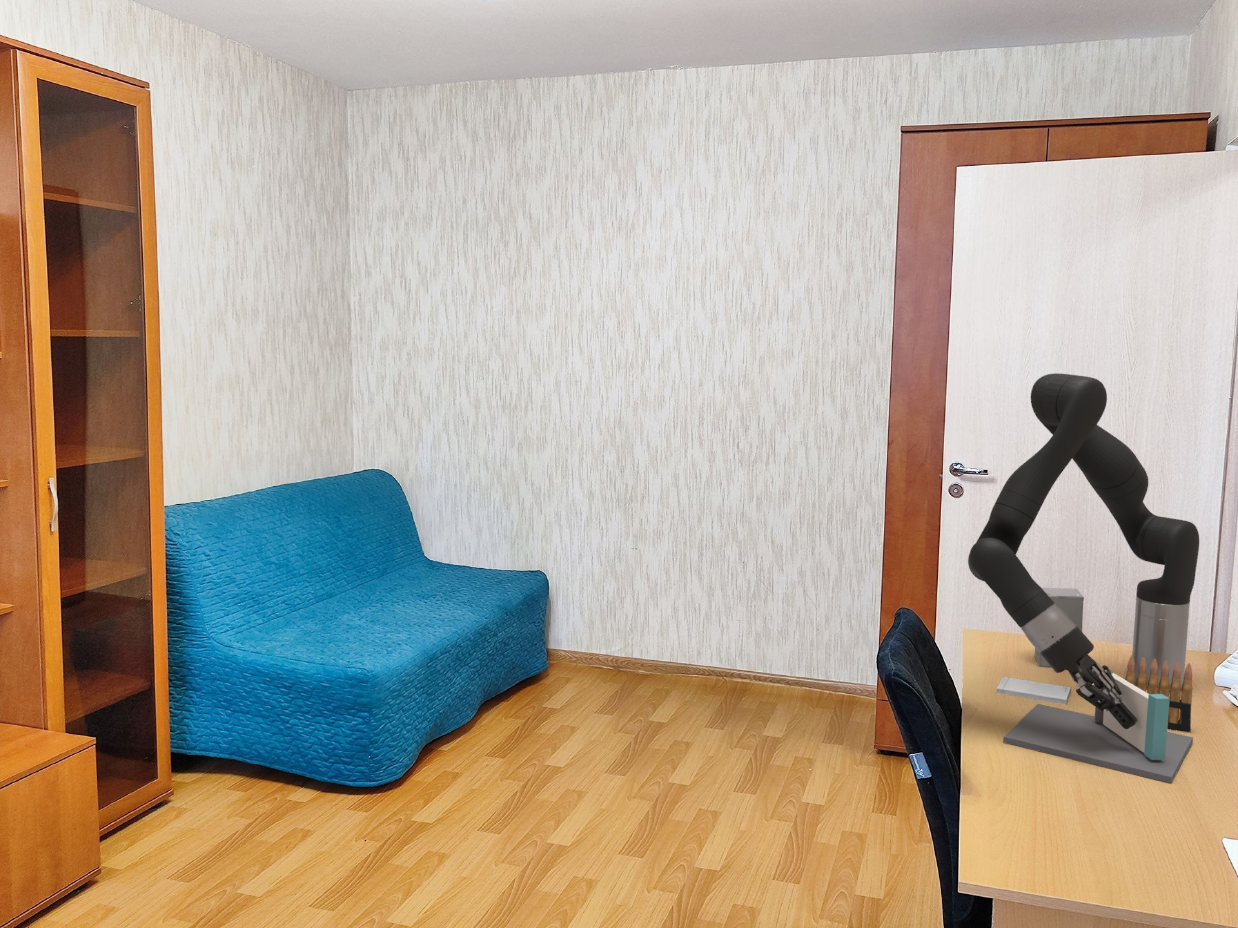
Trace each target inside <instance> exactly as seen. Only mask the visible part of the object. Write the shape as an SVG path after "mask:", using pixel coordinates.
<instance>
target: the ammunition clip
mask: <svg viewBox="0 0 1238 928" xmlns="http://www.w3.org/2000/svg"><path fill="white" fill-rule="evenodd" d="M1125 674H1126V675H1125V678H1124V680H1126V681H1128V682H1129V683H1131V684H1133V685H1134V686H1136V687H1138V688H1140V689H1141V690H1143V691H1145V692H1146V693H1148V694H1163V695H1164V696H1166V697H1168V698H1170V701H1169V714H1168V727H1167V730H1170V729H1171V730H1170V731H1176V730H1177V731H1179V732H1182V733H1183V732H1184V733H1191V729H1192V728H1191V725H1192V724H1191V723H1192V721H1191V719H1192V717H1191V715H1192V702H1193V689H1194V688H1193V670H1192V665H1191V663H1189V662H1188V663H1187V664H1186V666H1185V670H1184V680H1183V685H1182V690H1181V683H1180V679H1181V678H1180V675H1181V672H1180V665H1179V662H1176V664H1175V666H1174V670H1173V677H1172V682H1171V685H1170V684H1169V665H1168V662H1167V660H1165V662H1164V664H1163V667H1162V671H1161V679H1160V682H1159V691H1158V666H1157V661H1156V659H1154V660H1153V661H1152V664H1151V668H1150V675H1149V680H1148V687H1147V680H1146V662H1145V658H1144V657H1142V659H1141V661H1140V665H1139V671H1138V677H1137V681H1136V685H1135V662H1134V658H1133V656H1132V655H1130V657H1129V659H1128V662H1127V669H1126V673H1125ZM1146 687H1147V688H1146ZM1169 687H1170V692H1169Z"/></svg>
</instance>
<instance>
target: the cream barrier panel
mask: <svg viewBox="0 0 1238 928" xmlns="http://www.w3.org/2000/svg"><path fill="white" fill-rule="evenodd" d="M1109 670H1110V672H1111V674H1112V676H1113V677H1114V679H1115V681H1116V683H1117V685H1118V687H1119V689H1120V691H1121V693H1122V695H1120V696H1121V698H1122V701H1121V702H1123V703H1124V705H1125V706H1126V707H1127V708H1128V709H1129V710H1130V711H1131V713H1132V714H1133V715H1134V716H1135V717H1136V718H1137V722H1136V723H1135V725H1133V726H1132V727H1130V728H1129V729H1124V728H1123V727H1122V726H1121V725H1120V723H1119V722H1118V721H1117V720H1116V719H1115V718H1114V716H1113V715H1112V714H1111V713H1110V712H1109V711H1106V710H1105V709H1104V710H1103V711H1101V710H1099V709H1098V708H1097V707H1095V706H1094V707H1095V710H1094V716H1095V719H1094V720H1095V721H1097V722H1100V723H1103V724H1104V725H1105V726H1106V727H1108V728H1109V729H1111V730H1112V731H1114V732H1115V733H1116V734H1118V735H1119V736H1121V737H1122V738H1123V739H1125V740H1126V741H1128V742H1129V743H1131V744H1132V745H1133V746H1135V747H1136V748H1138V749H1139V750H1141V751H1142V752H1143V753H1144V755H1145V756H1147V757H1148V758H1149V759H1151V760H1165V753H1166V740H1167V732H1168V729H1167V727H1168V714H1169V701H1170V698H1168V697H1166V696H1164V695H1163V694H1148V693H1147V691H1146V692H1145V691H1143V690H1141V689H1140V688H1138V687H1136V685H1135V686H1134V685H1133V684H1131V683H1129V682H1128V681H1126V680H1125V678H1123V677H1121V676H1119V675H1118V674H1116V673H1114V671H1113V670H1111V669H1110V668H1109ZM1100 690H1101V689H1100Z"/></svg>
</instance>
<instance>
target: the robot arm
mask: <svg viewBox="0 0 1238 928" xmlns="http://www.w3.org/2000/svg"><path fill="white" fill-rule="evenodd" d="M1107 403H1108V393H1107V389H1106V387H1105V385H1104V384H1103V382H1102V381H1100V380H1099V379H1097V378H1094V377H1091V376H1085V375H1076V374H1068V373H1058V372H1057V373H1056V372H1055V373H1048V374H1044V375H1042V376H1040V377H1039V378H1038V379H1036V381H1035V382H1034V384H1033V386H1032V388H1031V392H1030V405H1031V409H1032V411H1033V413H1034V415H1035V417H1036V418H1037V420H1038V421H1039V422H1040V423H1041V424H1042V426H1043V427H1045V428H1046V430H1047V431H1049V433H1050V434H1051V435H1052V436H1051V437H1050V438H1049V440H1047V442H1046V443H1045V444H1044V445H1043V446H1042V447H1041V448H1040V449H1039V450H1038V451H1037V452H1036V453H1034V454H1033V455H1032V456H1031V457H1030V458H1028V459H1027V460H1026V461H1025V462H1024V463H1022V464H1021V465H1020V466H1018V468H1017V469H1015V470H1014V472H1013V473H1011V475H1010V476H1009V477H1008V478H1007V480H1006V482H1005V483H1004V485H1003V486H1002V488H1001V490H1000V493H999V494H998V497H997V498H996V500H995V501H994V504H993V507H992V509H991V510H990V511H991V512H990V515H989V518H988V521H987V522H986V524H985V526H984V527H983V530H982V531H981V533H980V535H979V537H978V538H977V540H976V542H975V543H974V544H973V545H972V547H971V549H970V551H969V554H968V559H967V565H968V568H969V571H970V572H971V574H972V576H974V577H975V578H976V579H977V580H979V581H982V582H984V583H985V584H986V586H988V588H990V589H991V591H992V592H993V593H994V594H995V595H996V596H997V597H998V599H999V600H1000V602H1001V605H1002V607H1003V608H1004V610H1005V611H1006V612H1007V614H1008V615H1009V616H1010V617H1011V619H1012V620H1013V621H1014V622H1015V623H1016V624H1017V626H1018V627H1019V628H1020V630H1021V631H1022V632H1023V633H1024V635H1025V637H1026V638H1027V639H1028V641H1029V642H1030V644H1032V646H1033V647H1034V649H1035V648H1036V649H1037V650H1038V652H1039V653H1040V654H1041V655H1042V656H1043V658H1044V659H1045V660H1046V661H1047V662H1048V663H1049V665H1050V666H1051V667H1050V668H1052V669H1053V671H1054V672H1056V673H1057V674H1060V673H1062V672H1064V671H1067V672H1068V674H1069V675H1070V677H1071V678H1072V680H1073V683H1075V684H1076V685H1077V687H1078V688H1077V689H1076V690H1075V692H1076V695H1078V696H1079V697H1081V699H1083V700H1085V701H1087V702H1088V703H1090V705H1093V706H1094V707H1097V708H1098V709H1099V710H1101V711H1103V710H1104V709H1105V710H1106V711H1109V712H1110V713H1111V714H1112V715H1113V716H1114V718H1115V719H1116V720H1117V721H1118V722H1119V723H1120V725H1121V726H1122V727H1123V728H1124V729H1129V728H1130V727H1132V726H1133V725H1135V723H1136V722H1137V718H1136V717H1135V716H1134V715H1133V714H1132V713H1131V711H1130V710H1129V709H1128V708H1127V707H1126V706H1125V705H1124V703H1123V702H1121V701H1122V698H1121V696H1120V695H1122V693H1121V691H1120V689H1119V687H1118V685H1117V683H1116V681H1115V679H1114V677H1113V676H1112V674H1111V672H1110V670H1111V669H1110V668H1109V667H1108V666H1107V665H1105V664H1103V665H1101V664H1100V663H1099V662H1097V661H1096V660H1095V659H1094V658H1093V657H1091V656H1090V655H1089V654H1090V653H1092V651H1093V650H1094V648H1095V645H1094V644H1093V643H1092V641H1091V640H1089V638H1088V637H1087V636H1086V634H1084V632H1083V630H1082V631H1081V630H1080V629H1079V628H1078V627H1077V626H1076V624H1075V623H1074V622H1073V621H1072V620H1071V619H1070V618H1069V616H1068V615H1067V614H1066V613H1065V612H1064V611H1063V610H1061V609H1060V608H1059V607H1058V606H1057V605H1056V604H1054V602H1053V601H1052V599H1051V598H1050V597H1049V596H1048V595H1047V594H1046V592H1045V591H1044V590H1043V589H1042V588H1043V587H1041V586H1040V585H1039V584H1038V583H1037V581H1035V580H1034V578H1032V576H1031V575H1030V573H1029V571H1028V569H1027V568H1026V567H1025V565H1024V564H1023V563H1022V561H1021V560H1020V559H1019V558H1018V556H1017V553H1018V551H1019V548H1020V546H1021V544H1022V541H1023V540H1024V537H1025V536H1026V535H1027V534H1028V532H1029V530H1030V529H1031V528H1032V526H1033V524H1034V522H1035V520H1036V518H1037V516H1038V514H1039V512H1040V510H1041V508H1042V506H1043V504H1044V502H1045V500H1046V499H1047V496H1048V495H1049V493H1050V491H1051V490H1052V488H1053V487H1054V485H1055V483H1056V482H1057V480H1058V478H1059V477H1060V475H1061V474H1062V473H1063V471H1064V470H1065V469H1066V467H1067V466H1068V465H1069V463H1070V462H1071V461H1073V462H1074V463H1075V464H1076V466H1077V467H1078V469H1079V470H1080V471H1081V472H1082V473H1083V475H1084V477H1085V479H1086V480H1087V482H1088V483H1089V485H1090V486H1091V488H1092V489H1093V490H1094V492H1095V493H1096V494H1097V496H1098V497H1099V498H1100V499H1101V500H1102V502H1103V503H1104V504H1105V506H1106V508H1107V510H1108V511H1109V513H1110V514H1111V516H1112V517H1113V518H1114V520H1115V521H1116V523H1117V525H1118V527H1119V529H1120V531H1121V533H1122V535H1123V537H1124V538H1125V541H1126V543H1127V545H1128V546H1129V548H1130V550H1131V551H1132V553H1133V554H1134V555H1135V557H1136V558H1138V559H1140V560H1141V561H1144V562H1148V563H1151V564H1156V565H1160V566H1161V565H1162V566H1164V567H1163V570H1162V571H1163V572H1162V575H1161V576H1160V577H1158V578H1152V579H1150V578H1149V579H1144V580H1141V581H1139V582H1138V583H1137V586H1136V595H1135V609H1134V610H1135V612H1134V624H1133V626H1134V627H1133V636H1132V637H1133V639H1132V653H1131V656H1133V658H1134V662H1135V686H1136V681H1137V677H1138V671H1139V665H1140V661H1141V659H1142V657H1144V658H1145V662H1146V680H1147V687H1148V680H1149V675H1150V668H1151V664H1152V661H1153V660H1154V659H1156V661H1157V666H1158V691H1159V682H1160V679H1161V671H1162V667H1163V664H1164V662H1165V660H1167V662H1168V665H1169V684H1170V685H1171V682H1172V677H1173V670H1174V666H1175V664H1176V662H1179V665H1180V672H1181V675H1180V678H1181V679H1180V683H1181V691H1182V685H1183V680H1184V674H1185V669H1186V657H1187V643H1188V629H1189V617H1190V616H1189V615H1190V603H1191V595H1192V592H1193V589H1194V586H1195V581H1196V573H1197V572H1196V571H1197V563H1198V557H1199V550H1200V533H1199V531H1198V528H1197V526H1196V525H1195V524H1194V523H1193V522H1191V521H1188V520H1183V519H1179V518H1171V517H1166V516H1165V517H1164V516H1159V515H1156V514H1154V513H1152V512H1151V510H1149V508H1148V507H1147V506H1146V504H1145V503H1144V500H1145V498H1146V495H1147V493H1148V490H1149V489H1148V488H1149V477H1148V473H1147V471H1146V469H1145V467H1144V466H1143V465H1142V463H1141V462H1140V460H1139V459H1138V457H1137V455H1136V454H1135V453H1134V452H1133V450H1132V449H1131V448H1130V447H1129V446H1127V444H1125V442H1123V441H1121V440H1120V439H1119V438H1117V437H1116V436H1114V435H1113V434H1112V433H1111V432H1109V431H1107V430H1106V429H1104V428H1103V427H1101V426H1100V425H1098V423H1099V422H1100V420H1101V418H1102V416H1103V415H1104V413H1105V410H1106V408H1107V407H1106V406H1107ZM1109 669H1110V670H1109ZM1147 687H1146V689H1147ZM1100 689H1101V690H1100ZM1169 693H1170V687H1169Z"/></svg>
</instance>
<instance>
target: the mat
mask: <svg viewBox="0 0 1238 928" xmlns="http://www.w3.org/2000/svg"><path fill="white" fill-rule="evenodd" d="M1094 719H1095V715H1093V714H1092V715H1091V714H1087V713H1084V712H1078V711H1074V710H1069V709H1063V708H1059V707H1055V706H1050V705H1046V704H1040V703H1037V704H1036V705H1034V707H1033V708H1031V710H1030V711H1029V712H1028V713H1027V714H1026V715H1025V716H1024V717H1023V718H1022V719H1020V720H1019V721H1018V722H1017V723H1016V724H1015V725H1014V726H1013V727H1011V729H1010V730H1009V731H1008V732H1007V733H1005V735H1004V736H1003V743H1005V744H1009V745H1013V746H1016V747H1020V748H1024V749H1028V748H1029V750H1033V751H1037V752H1041V753H1045V754H1049V755H1053V756H1057V757H1061V758H1065V759H1068V760H1069V759H1070V760H1073V761H1077V762H1082V763H1086V764H1090V765H1094V766H1099V767H1102V768H1107V769H1110V770H1114V771H1118V772H1123V773H1127V774H1132V775H1134V776H1139V777H1144V778H1147V779H1151V780H1155V781H1159V782H1163V783H1168V784H1172V782H1173V780H1174V779H1175V777H1176V775H1177V773H1178V772H1179V770H1180V767H1181V766H1182V764H1183V762H1184V759H1185V758H1186V757H1187V754H1188V752H1189V751H1190V749H1191V747H1192V746H1193V743H1194V742H1193V741H1194V736H1188V735H1185V734H1179V733H1175V732H1170V731H1167V740H1166V753H1165V760H1151V759H1149V758H1148V757H1147V756H1145V755H1144V753H1143V752H1142V751H1141V750H1139V749H1138V748H1136V747H1135V746H1133V745H1132V744H1131V743H1129V742H1128V741H1126V740H1125V739H1123V738H1122V737H1121V736H1119V735H1118V734H1116V733H1115V732H1114V731H1112V730H1111V729H1109V728H1108V727H1106V726H1105V725H1104V724H1103V723H1100V722H1097V721H1095V720H1094Z"/></svg>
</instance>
